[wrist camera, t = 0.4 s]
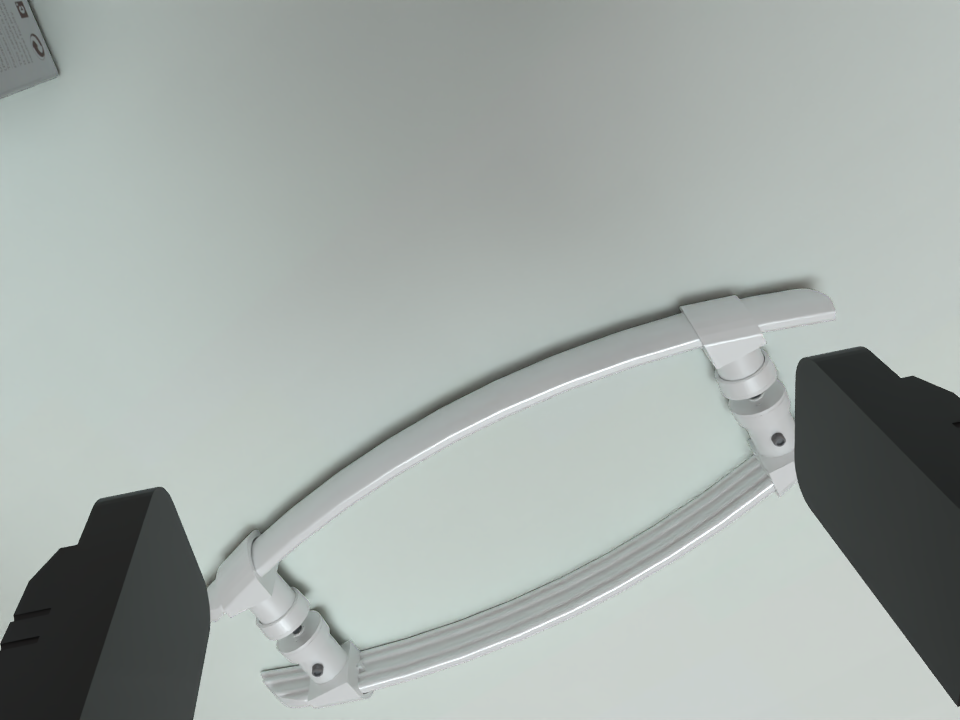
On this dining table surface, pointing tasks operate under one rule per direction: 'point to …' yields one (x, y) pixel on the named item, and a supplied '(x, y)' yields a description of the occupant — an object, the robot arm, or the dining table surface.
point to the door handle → (356, 674)
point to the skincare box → (22, 49)
